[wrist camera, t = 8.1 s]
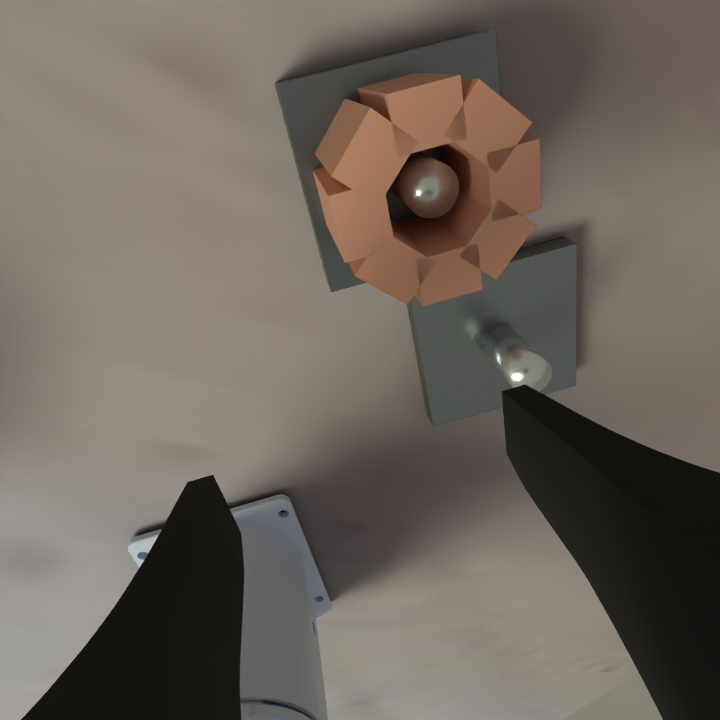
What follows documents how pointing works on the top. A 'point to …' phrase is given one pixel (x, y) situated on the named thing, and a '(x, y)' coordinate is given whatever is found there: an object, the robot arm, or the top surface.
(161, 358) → the top surface
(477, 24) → the top surface
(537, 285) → the stand
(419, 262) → the ring
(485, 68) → the square peg base
